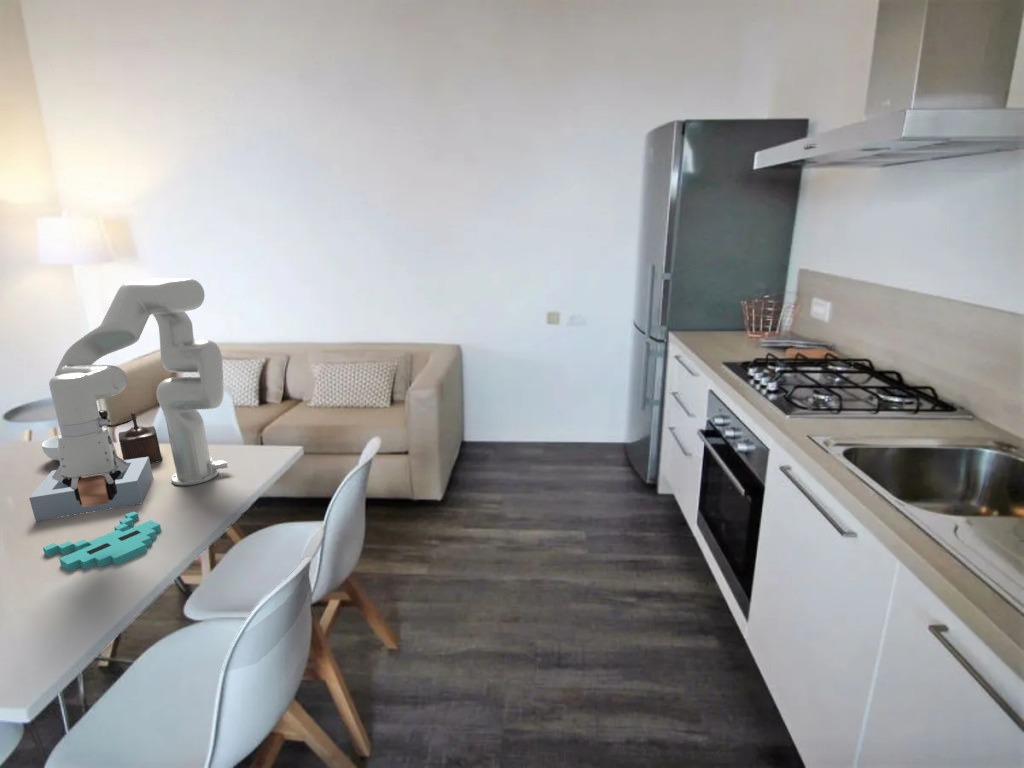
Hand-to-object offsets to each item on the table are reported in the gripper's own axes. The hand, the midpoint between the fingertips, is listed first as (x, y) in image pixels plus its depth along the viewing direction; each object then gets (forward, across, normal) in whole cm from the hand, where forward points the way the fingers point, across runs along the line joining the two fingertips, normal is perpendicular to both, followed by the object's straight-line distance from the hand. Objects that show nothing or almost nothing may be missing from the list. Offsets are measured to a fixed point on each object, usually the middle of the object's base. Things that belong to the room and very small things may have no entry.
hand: (98, 499), depth 133 cm
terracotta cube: (0, 0, 0) cm, 0 cm away
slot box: (+13, +9, -31) cm, 35 cm away
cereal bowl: (+13, +23, -69) cm, 74 cm away
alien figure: (+13, 0, 0) cm, 13 cm away
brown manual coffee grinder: (+13, +5, -57) cm, 59 cm away
